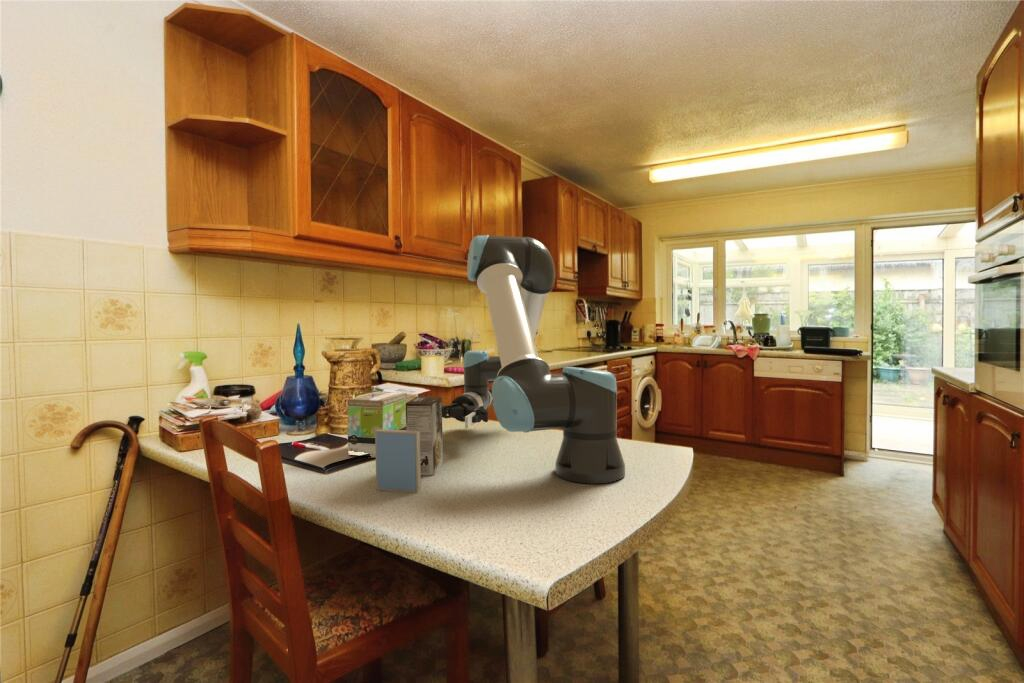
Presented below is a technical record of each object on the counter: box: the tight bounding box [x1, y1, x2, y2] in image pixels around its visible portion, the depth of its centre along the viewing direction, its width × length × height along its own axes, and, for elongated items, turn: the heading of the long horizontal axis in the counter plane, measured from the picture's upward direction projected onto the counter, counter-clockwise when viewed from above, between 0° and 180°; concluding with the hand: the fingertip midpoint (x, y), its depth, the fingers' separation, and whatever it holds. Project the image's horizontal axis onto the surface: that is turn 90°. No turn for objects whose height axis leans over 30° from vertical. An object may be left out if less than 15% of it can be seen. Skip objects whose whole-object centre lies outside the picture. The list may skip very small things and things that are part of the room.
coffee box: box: [406, 396, 444, 476], centre depth 111 cm, size 9×6×16 cm
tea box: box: [347, 391, 408, 458], centre depth 129 cm, size 15×10×15 cm, turn 168°
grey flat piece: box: [375, 429, 422, 494], centre depth 97 cm, size 9×2×12 cm, turn 77°
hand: (440, 421), depth 120 cm, fingers open, 13 cm apart
